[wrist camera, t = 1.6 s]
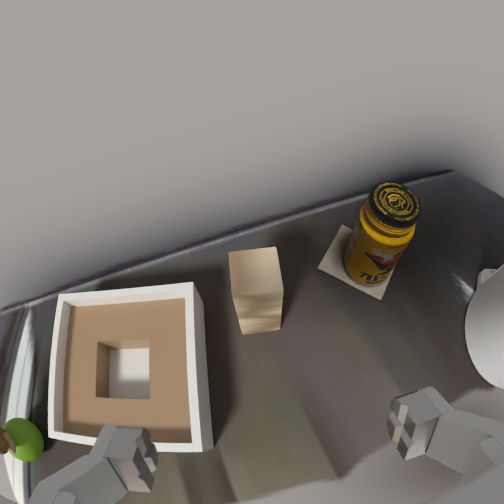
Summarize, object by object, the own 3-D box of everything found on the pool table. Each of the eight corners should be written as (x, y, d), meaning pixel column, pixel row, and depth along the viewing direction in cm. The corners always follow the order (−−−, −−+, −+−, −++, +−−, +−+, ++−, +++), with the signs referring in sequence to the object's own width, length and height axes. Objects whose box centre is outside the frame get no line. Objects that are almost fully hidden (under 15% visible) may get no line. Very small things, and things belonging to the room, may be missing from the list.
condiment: (380, 300, 33) (420, 242, 23) (317, 268, 36) (333, 200, 26) (399, 254, 37) (434, 190, 26) (341, 226, 39) (359, 155, 29)
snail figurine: (29, 407, 27) (-40, 384, 17) (59, 442, 25) (-14, 432, 15) (13, 434, 25) (-55, 418, 15) (41, 470, 23) (-30, 466, 13)
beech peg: (275, 296, 35) (276, 246, 26) (280, 329, 32) (283, 289, 24) (239, 300, 35) (228, 252, 26) (242, 334, 32) (232, 295, 24)
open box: (203, 304, 35) (193, 281, 30) (213, 448, 26) (202, 451, 21) (82, 313, 34) (58, 294, 30) (76, 439, 26) (48, 437, 21)
